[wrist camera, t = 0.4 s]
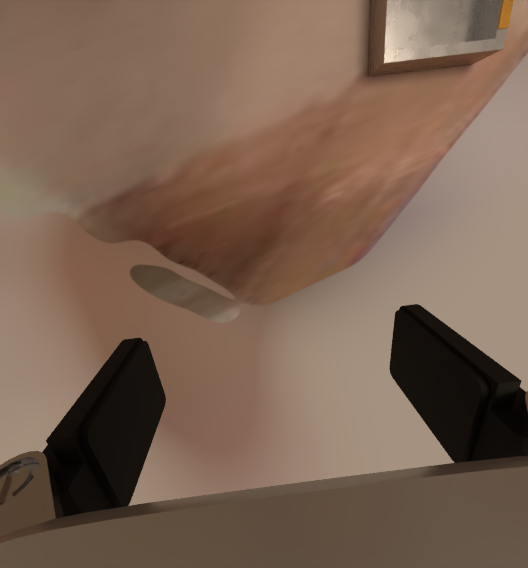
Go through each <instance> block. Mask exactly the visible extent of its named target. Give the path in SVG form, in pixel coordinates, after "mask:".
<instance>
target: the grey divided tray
mask: <svg viewBox="0 0 528 568" xmlns="http://www.w3.org/2000/svg"><path fill="white" fill-rule="evenodd" d="M512 4H513V0H371V6H370V36H369V66H368V76H376V75H384V74H393V73H401V72H410V71H418V70H427V69H435V68H444V67H452V66H461V65H470V64H474V63H476V62H478V61H480V60H482V59H484V58H486V57H488V56H490V55H492V54H494V53H496V52H498V51H500V50H502V49H503V44H504V38H505V33H506V28H508V25H509V20H510V15H511V10H512Z"/></svg>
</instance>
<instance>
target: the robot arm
mask: <svg viewBox="0 0 528 568" xmlns="http://www.w3.org/2000/svg"><path fill="white" fill-rule="evenodd" d="M390 373H391V375H392V377H393V379H394V380H395V381H396V383H397V384H398V386H399V387H400V388H401V390H402V391H403V393H404V394H405V395H406V397H407V398H408V400H409V401H410V402H411V404H412V405H413V406H414V408H415V409H416V410H417V412H418V413H419V415H420V416H421V417H422V419H423V420H424V421H425V423H426V424H427V426H428V427H429V429H430V430H431V431H432V433H433V434H434V435H435V437H436V438H437V440H438V441H439V442H440V444H441V445H442V446H443V448H444V449H445V451H446V452H447V453H448V455H449V456H450V457H451V459H452V460H453V461H454V462H455V463H451V464H444V465H435V466H427V467H419V468H411V469H404V470H395V471H387V472H379V473H371V474H362V475H355V476H347V477H340V478H332V479H324V480H316V481H309V482H301V483H293V484H285V485H278V486H270V487H262V488H255V489H247V490H240V491H233V492H225V493H218V494H210V495H203V496H197V497H188V498H181V499H174V500H166V501H159V502H152V503H145V504H138V505H132V506H128V505H129V503H130V501H131V498H132V496H133V493H134V490H135V487H136V484H137V482H138V478H139V476H140V473H141V471H142V468H143V465H144V462H145V459H146V457H147V454H148V451H149V448H150V446H151V443H152V440H153V437H154V434H155V432H156V428H157V426H158V423H159V421H160V418H161V415H162V412H163V409H164V407H165V402H166V401H165V400H166V398H165V393H164V390H163V387H162V384H161V381H160V378H159V375H158V372H157V370H156V366H155V363H154V360H153V357H152V354H151V351H150V348H149V345H148V343H147V342H146V341H143V340H142V339H141V338H134V339H127V340H126V339H125V340H123V341H122V342H121V343H120V345H119V346H118V347H117V348H116V350H115V351H114V352H113V354H112V355H111V356H110V357H109V359H108V360H107V361H106V363H105V364H104V365H103V367H102V368H101V369H100V371H99V372H98V373H97V375H96V376H95V377H94V379H93V380H92V381H91V382H90V384H89V385H88V386H87V388H86V389H85V390H84V392H83V393H82V394H81V395H80V397H79V398H78V399H77V401H76V402H75V404H74V405H73V406H72V407H71V409H70V410H69V411H68V412H67V414H66V415H65V416H64V418H63V419H62V420H61V422H60V423H59V424H58V426H57V427H56V428H55V430H54V431H53V432H52V433H51V435H50V436H49V437H48V439H47V440H46V442H47V443H48V445H47V447H46V448H45V449H44V451H43V452H39V451H31V452H27V453H23V454H20V455H18V456H16V457H14V458H12V459H10V460H8V461H6V462H5V463H3V464H2V465H0V568H528V391H527V392H525V391H524V390H523V389H521V388H520V387H519V386H520V384H521V380H519V379H518V378H517V377H516V376H514V375H513V374H512V373H510V372H509V371H508V370H506V369H505V368H503V367H502V366H501V365H500V364H498V363H497V362H495V361H494V360H493V359H491V358H490V357H489V356H487V355H486V354H485V353H483V352H482V351H480V350H479V349H478V348H477V347H475V346H474V345H473V344H471V343H470V342H469V341H467V340H466V339H464V338H463V337H462V336H461V335H459V334H458V333H457V332H455V331H454V330H452V329H451V328H450V327H448V326H447V325H446V324H444V323H443V322H442V321H440V320H439V319H438V318H436V317H435V316H434V315H432V314H431V313H430V312H428V311H427V310H426V309H424V308H423V307H422V306H420V305H418V304H415V305H407V306H401V307H400V309H399V310H398V311H396V313H395V321H394V330H393V340H392V349H391V359H390Z"/></svg>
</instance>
